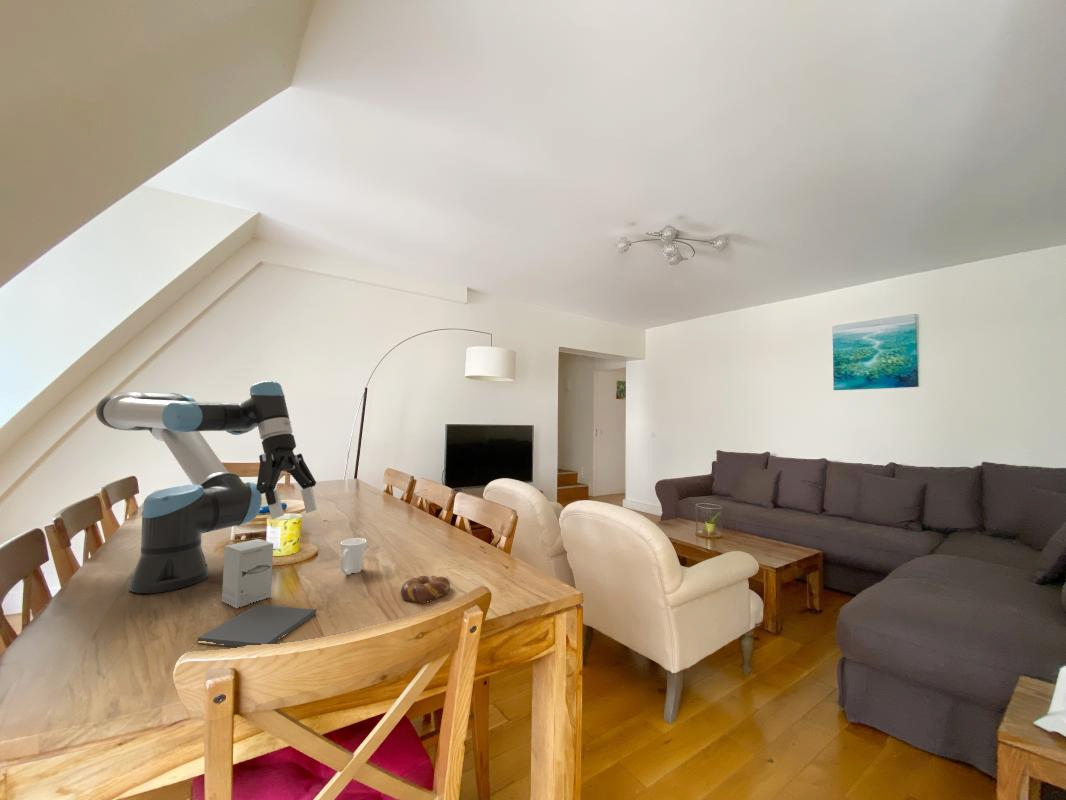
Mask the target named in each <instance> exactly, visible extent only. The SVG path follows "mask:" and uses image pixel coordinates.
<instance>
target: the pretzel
mask: <svg viewBox="0 0 1066 800" xmlns="http://www.w3.org/2000/svg"><path fill="white" fill-rule="evenodd" d="M450 588H451V582H450V580H449V579H448V578H447V577H445V576H436V575H431V576H428V575H427V576H426V575H420V576H417V577H412V578H410V579H408V580H406V581H405V582H404V584H403V585H402V587H401V589H400V596H401V598H402V599H403V600H404V601H407V602H416V603H418V602H426V603H428V602H427V601H430V600H432V601H434V600H436V599H437V598H436V597H439V596H440V597H444V596H446V595H445V594H448V591H449V590H450ZM443 595H444V596H443ZM440 597H439V598H440ZM433 599H434V600H433ZM430 602H431V601H430Z"/></svg>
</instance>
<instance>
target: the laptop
mask: <svg viewBox="0 0 1066 800" xmlns="http://www.w3.org/2000/svg"><path fill="white" fill-rule="evenodd" d="M316 613H317V609H316V608H307V607H306V608H304V607H293V606H282V605H281V606H280V605H270V604H269V605H267V604H256V605H253V606H252V607H250V608H249V609H246V610H245V611H243V612H241V613H239V614H237V615H235V616H234V617H232V618H230V619H229V620H227V621H225V622H223V623H222V624H220V625H218V626H216V627H214V628H213V629H210V630H209V631H207V632H205V633H204V634H202V635H200V636H198V637H197V642H198V641H206V642H213V643H216V644H224V645H226V646H227V647H232V648H233V647H235V648H240V647H239V646H246V645H261V644H273V643H274V644H276V643H277V642H279V641H280V640H279V638H281V637H282V636H283V635H285V634H287V633H288V634H290V633H291V632H293V631H294V630H296V627H297V628H298V627H300V626H301V625H302V624H304V623H305V622H306V621H308V620H309V619H311V618H312V617H314V616H315V615H316ZM303 622H304V623H303ZM299 625H300V626H299ZM293 629H294V630H293ZM292 630H293V631H292ZM290 631H291V632H290ZM289 632H290V633H289ZM288 634H287V635H288ZM281 639H282V638H281ZM278 640H279V641H278ZM274 644H273V645H274ZM224 645H222V646H224ZM226 646H224V647H226Z"/></svg>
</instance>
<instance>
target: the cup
mask: <svg viewBox="0 0 1066 800" xmlns="http://www.w3.org/2000/svg"><path fill="white" fill-rule="evenodd" d="M366 547H367V539H366V538H361V537H354V538H347V539H344V540H342V541H340V551H341V559H340V565H339V566H340V567H339V568H340V570H341V572H342V573H343V574H344V575H347V576H349V575H352V574H351V573H355V574H358V573H360V572H362V565H363V562H364V558H365V551H366ZM359 571H360V572H359ZM357 572H358V573H357Z"/></svg>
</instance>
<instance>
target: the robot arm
mask: <svg viewBox="0 0 1066 800" xmlns="http://www.w3.org/2000/svg"><path fill="white" fill-rule="evenodd" d="M249 396H250V397H249V398H248V399H246V400H245V401H243V402H240V403H239V402H238V403H237V402H212V401H211V402H209V401H196V400H195V398H193V397H191V396H190V395H187V394H180V393H176V392H171V393H164V392H163V393H160V392H146V391H145V392H144V391H141V392H140V391H121V392H116V393H112V394H109V395H107V396H105V397H104V398H101V400H100V401H99V402H98V404H97V405H96V409H95V415H96V418H97V420H98V421H99V422H100V423H101V424H102V425H104V426H106V427H108V428H111V429H113V430H117V431H118V430H119V431H148V432H150V434H151V435H152V437H153V438H154V439H155V440H157V441H161V442H164V443H165V444H166V445H165V446H167V448H168V449H169V451H170V452H171V454H172V455H173V457H174V458H175V460H176V461H177V463H178V465H179V466H180V467H181V469H182V470H183V472H184V473H185V475H186V476H187V478H188V479H189V481H190V483H191V484H186V485H180V486H174V487H173V486H171V487H168V488H164V489H159V490H157V491H154V492H152V493H150V494H149V495H147V496H146V497H145V499H144V501H143V504H142V505H143V506H142V511H141V517H142V518H141V534H140V536H141V537H140V539H141V541H140V554H139V558H138V561H137V564H135V568H134V570H133V574H132V575H131V576H130V579H129V582H128V583H129V584H128V590H130V591H129V592H131V591H132V592H131V593H133V592H136V593H135V594H140V593H146V594H147V593H148V594H158V593H165V592H170V591H171V592H172V591H175V590H179V588H180V589H183V587H184V588H186V586H187V587H189V586H193V585H194V584H195V583H196V584H198V583H200V582H202V581H203V579H204V580H206V578H208V576H209V565H208V562H206V561H207V560H206V557H205V554H204V551H203V549H202V534H206V533H211V532H213V531H218V530H219V531H220V530H223V529H228V528H232V527H236V526H237V527H239V526H242V525H244V524H247V523H251V522H252V521H254V520H255V519H256V518H257V517H258V515H259V513H260V511H261V508H262V501H263V498H262V495H264V496H265V499H266V504H267V505H268V510H269V514H270V518H271V520H274V519H279V518H280V517H283V516H284V509H283V506H282V501H281V497H280V493H279V489H276V487H277V484H278V481H279V478H280V476H281V472H286V473H288V474H290V476H291V477H292V478H293V479H294V480H295V481H296V483H297V484H298V485H299V486H300V488H302V489H301V490H300V492H301V497H302V500H303V505H304V510H305V513H306V514H309V513H311V512H314V511H317V510H318V509H317V504H316V499H315V496H314V491H313V487H316V484H317V481H316V479H315V478H314V476H313V474H312V473H311V471H310V469H309V467H308V466H307V464H306V462H305V459H304V457H303V455H302V453H297V454H295V453H294V450H295V449H296V447H297V443H296V440H295V435H293V427H292V425H291V420H290V416H289V410H288V406H287V402H286V398H285V394H284V390H283V387H282V385H281V384H280V383H279V382H277V381H273V380H272V381H271V380H265V381H264V380H263V381H260V382H256V383H254V384H252V385H251V386H250V388H249ZM255 428H258V433H259V437H260V439H261V446H262V450H263V453H262V454H259V457H258V458H259V469H258V473H257V474H258V476H257V481H256V483H255V482H250V481H248V482H243V481H242V479H241V477H240V476H239V475H238V474H237V473H235V472H229V470H227V468H226V467H225V465H224V464H223V462H222V461H221V460H220V458H219V457H218V456H217V454H216V453H215V451H214V450H213V449H212V447H211V446H210V444H209V443H208V442H207V440H206V439H205V437H204V436H203V435H202V432H223V431H225V432H226V433H229V434H231V435H232V436H233V435H234V436H240V435H243V434H246V433H249V432H251V431H253V430H254V429H255ZM201 580H202V581H201ZM199 581H200V582H199ZM197 582H198V583H197ZM192 584H193V585H192Z"/></svg>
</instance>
